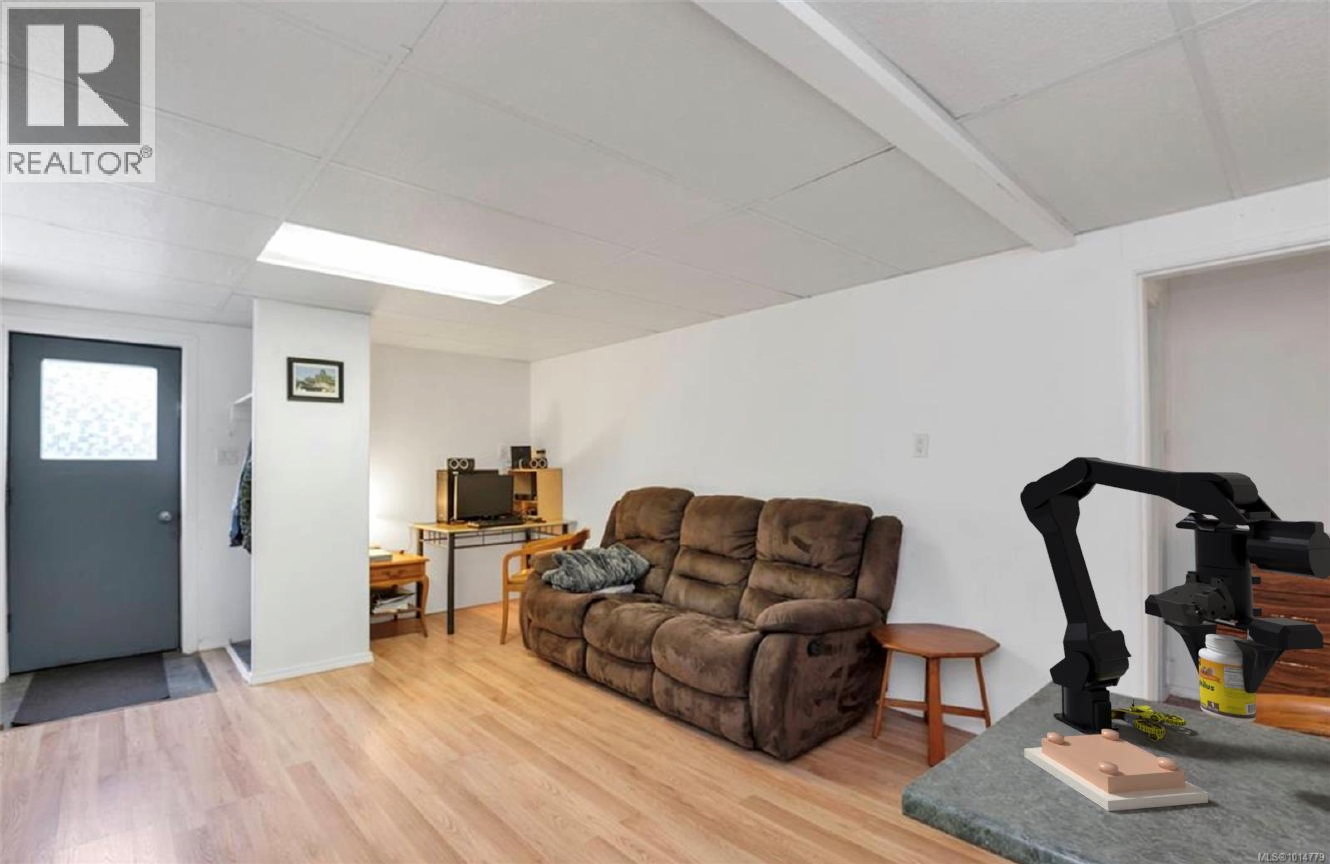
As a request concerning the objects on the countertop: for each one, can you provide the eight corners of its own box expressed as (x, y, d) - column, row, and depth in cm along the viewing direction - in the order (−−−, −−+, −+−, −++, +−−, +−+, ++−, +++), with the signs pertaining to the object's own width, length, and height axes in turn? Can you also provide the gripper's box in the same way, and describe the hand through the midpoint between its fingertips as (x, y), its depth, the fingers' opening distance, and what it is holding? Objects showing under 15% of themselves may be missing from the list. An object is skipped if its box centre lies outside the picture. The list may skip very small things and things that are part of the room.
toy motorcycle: (1160, 721, 93) (1106, 702, 99) (1158, 747, 93) (1104, 727, 99) (1190, 709, 100) (1138, 692, 106) (1188, 734, 100) (1136, 716, 105)
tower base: (1024, 756, 90) (1024, 728, 90) (1111, 750, 92) (1110, 722, 92) (1108, 810, 76) (1107, 776, 76) (1207, 802, 78) (1206, 769, 78)
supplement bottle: (1193, 705, 87) (1191, 630, 88) (1245, 712, 85) (1243, 634, 86) (1208, 720, 82) (1206, 640, 83) (1264, 727, 80) (1261, 645, 80)
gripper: (1110, 556, 93) (1112, 664, 92) (1245, 580, 74) (1250, 715, 73) (1176, 555, 94) (1179, 661, 94) (1324, 578, 76) (1329, 711, 75)
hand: (1226, 684), depth 84 cm, fingers closed on supplement bottle, 6 cm apart
